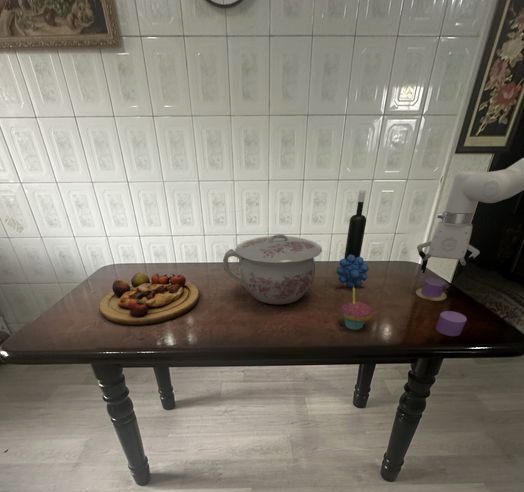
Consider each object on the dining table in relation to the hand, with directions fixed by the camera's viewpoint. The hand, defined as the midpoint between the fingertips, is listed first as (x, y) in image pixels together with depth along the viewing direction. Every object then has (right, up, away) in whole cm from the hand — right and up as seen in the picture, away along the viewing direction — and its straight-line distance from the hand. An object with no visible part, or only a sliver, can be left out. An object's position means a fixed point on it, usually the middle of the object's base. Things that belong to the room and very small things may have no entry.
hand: (439, 274), depth 99 cm
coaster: (0, -6, +5) cm, 8 cm away
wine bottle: (-24, +5, +21) cm, 32 cm away
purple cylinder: (0, -6, +4) cm, 7 cm away
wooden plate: (-96, -9, +2) cm, 96 cm away
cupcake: (-32, -18, -12) cm, 38 cm away
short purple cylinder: (-6, -19, -15) cm, 25 cm away
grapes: (-26, -3, +10) cm, 28 cm away
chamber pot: (-53, -6, +6) cm, 54 cm away
